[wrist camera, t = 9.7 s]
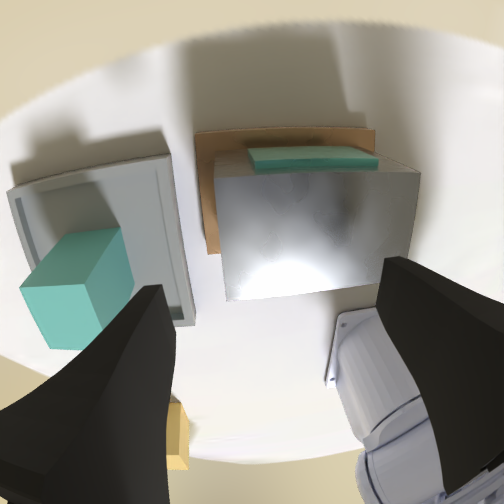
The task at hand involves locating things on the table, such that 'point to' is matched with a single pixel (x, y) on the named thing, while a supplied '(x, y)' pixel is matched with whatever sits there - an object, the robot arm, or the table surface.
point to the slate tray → (113, 221)
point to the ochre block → (177, 438)
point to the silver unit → (302, 208)
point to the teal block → (79, 287)
